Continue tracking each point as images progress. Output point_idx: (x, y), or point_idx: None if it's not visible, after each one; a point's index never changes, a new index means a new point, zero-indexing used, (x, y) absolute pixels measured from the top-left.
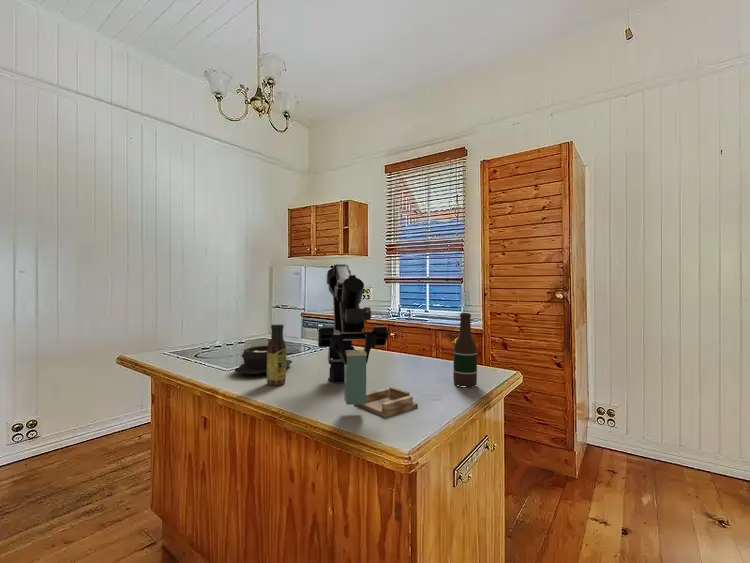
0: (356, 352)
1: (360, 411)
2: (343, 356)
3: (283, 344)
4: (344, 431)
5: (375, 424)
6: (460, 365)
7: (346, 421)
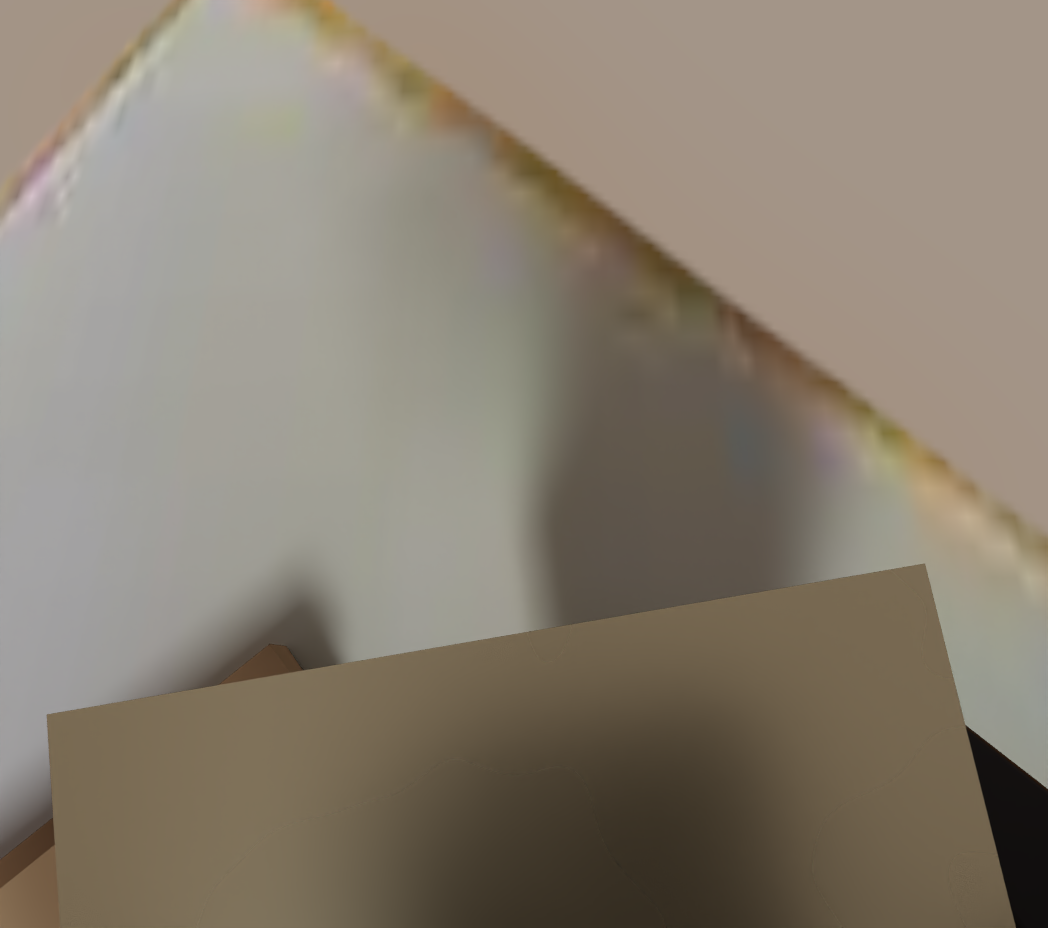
0: (476, 693)
1: None
2: (1033, 799)
3: None
4: (708, 284)
5: (407, 457)
6: None
7: (709, 538)
